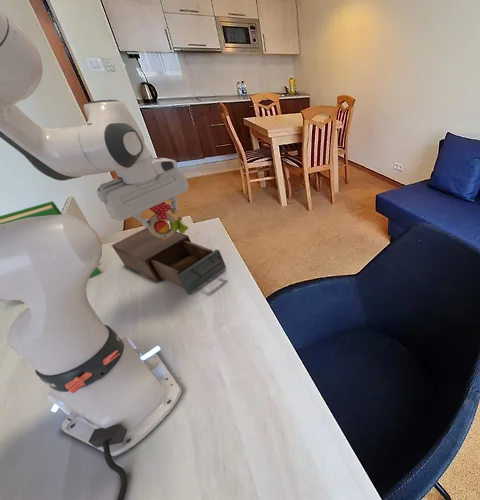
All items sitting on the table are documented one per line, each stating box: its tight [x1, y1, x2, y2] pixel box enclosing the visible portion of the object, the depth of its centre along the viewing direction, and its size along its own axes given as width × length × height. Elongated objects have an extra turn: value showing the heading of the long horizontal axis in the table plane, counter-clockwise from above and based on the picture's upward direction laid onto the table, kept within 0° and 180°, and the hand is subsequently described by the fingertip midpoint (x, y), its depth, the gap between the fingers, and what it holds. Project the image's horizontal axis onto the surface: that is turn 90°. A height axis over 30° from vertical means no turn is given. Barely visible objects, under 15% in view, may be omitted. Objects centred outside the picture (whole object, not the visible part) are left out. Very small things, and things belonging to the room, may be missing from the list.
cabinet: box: [111, 227, 192, 283], centre depth 100 cm, size 20×15×9 cm
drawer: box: [149, 240, 227, 295], centre depth 91 cm, size 23×13×7 cm, turn 59°
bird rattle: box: [148, 202, 189, 241], centre depth 84 cm, size 6×11×9 cm
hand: (162, 218), depth 84 cm, fingers closed on bird rattle, 7 cm apart
